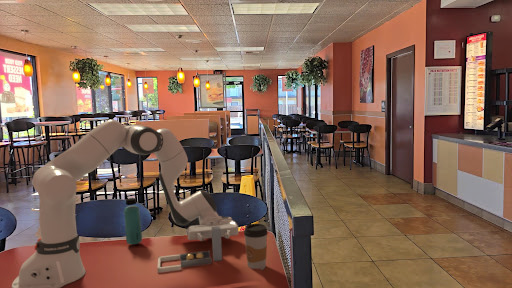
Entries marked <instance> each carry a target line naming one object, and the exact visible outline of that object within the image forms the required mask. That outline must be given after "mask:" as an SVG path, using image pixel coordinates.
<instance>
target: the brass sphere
mask: <svg viewBox="0 0 512 288" xmlns="http://www.w3.org/2000/svg"><path fill="white" fill-rule="evenodd" d="M201 258H204V255H203V254H202V253H198V254H197V255H196V259H201Z"/></svg>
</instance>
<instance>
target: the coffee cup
mask: <svg viewBox="0 0 512 288" xmlns="http://www.w3.org/2000/svg"><path fill="white" fill-rule="evenodd" d="M243 234H244V241H245V242H244V243H245V254H246V260H247V266H248V268H250V269H255V270H259V269H260V271H263V270H265V268H266V265H267V263H266V262H267V247H268V244H267V240H268V239H267V237H268V229H267V226H266V225H265V224H263V223H251V224H247V225H245V229H244V230H243Z"/></svg>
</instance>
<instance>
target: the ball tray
mask: <svg viewBox="0 0 512 288" xmlns="http://www.w3.org/2000/svg"><path fill="white" fill-rule="evenodd" d="M180 254H181V253H180ZM180 254H173V255H171V254H170V255H164V256H158V257H157V273H159V274H160V273H167V272H168V273H169V272H175V271H181V270H182V268H181V264H177V265H170V266H169V265H167V266H161V265H162V264H161V263H162V262H169V261H176V260H180Z"/></svg>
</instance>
